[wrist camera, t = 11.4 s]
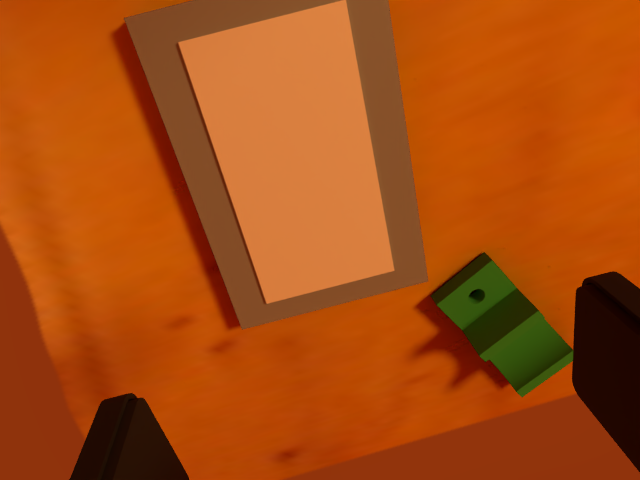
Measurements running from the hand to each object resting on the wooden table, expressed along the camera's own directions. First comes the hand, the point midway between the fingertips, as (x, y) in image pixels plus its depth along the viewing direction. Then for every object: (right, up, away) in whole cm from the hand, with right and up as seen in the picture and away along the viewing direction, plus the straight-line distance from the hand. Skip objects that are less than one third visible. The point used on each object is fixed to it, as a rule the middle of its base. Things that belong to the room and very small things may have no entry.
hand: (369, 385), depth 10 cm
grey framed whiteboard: (-2, +7, +16) cm, 18 cm away
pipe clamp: (+13, 0, +19) cm, 23 cm away
